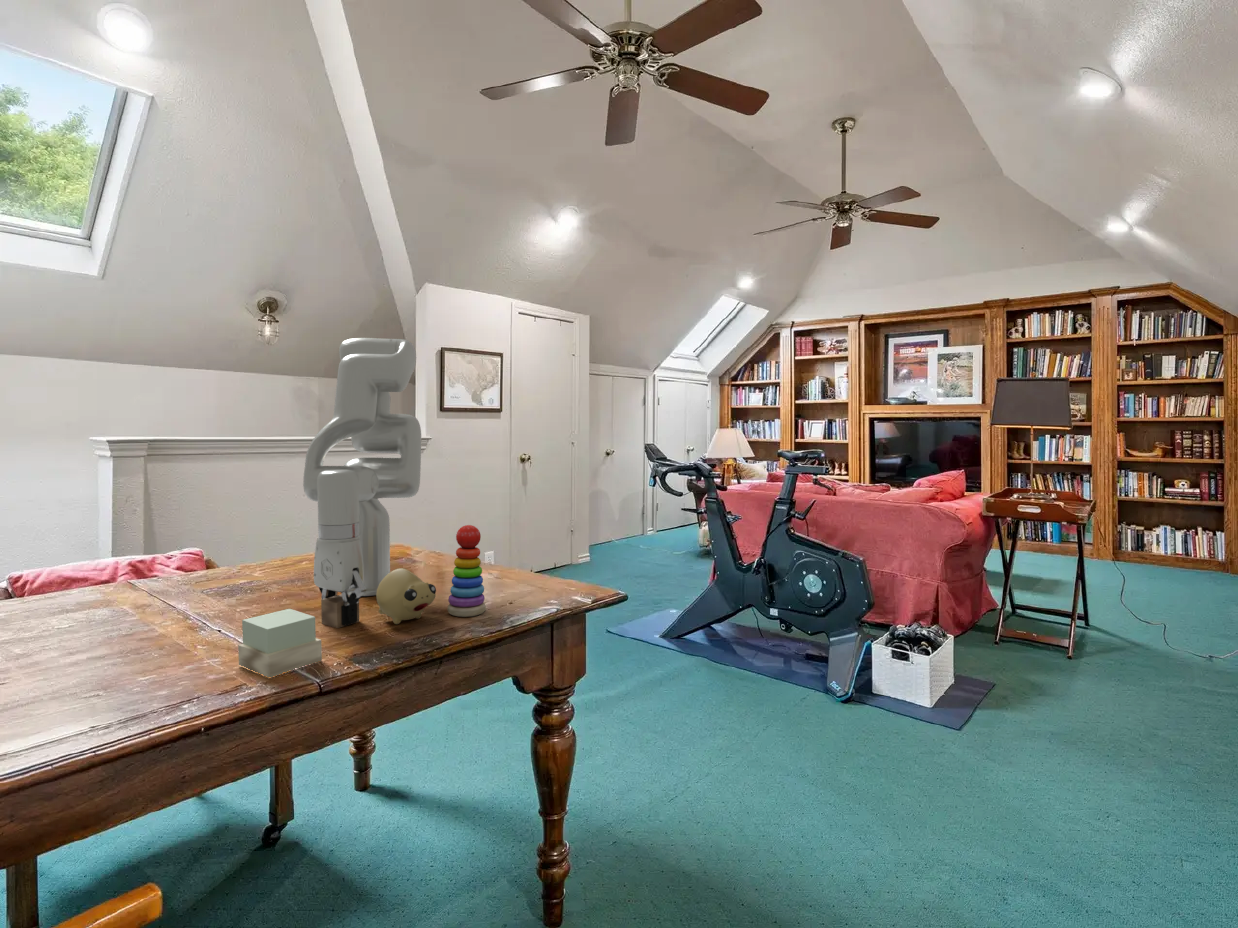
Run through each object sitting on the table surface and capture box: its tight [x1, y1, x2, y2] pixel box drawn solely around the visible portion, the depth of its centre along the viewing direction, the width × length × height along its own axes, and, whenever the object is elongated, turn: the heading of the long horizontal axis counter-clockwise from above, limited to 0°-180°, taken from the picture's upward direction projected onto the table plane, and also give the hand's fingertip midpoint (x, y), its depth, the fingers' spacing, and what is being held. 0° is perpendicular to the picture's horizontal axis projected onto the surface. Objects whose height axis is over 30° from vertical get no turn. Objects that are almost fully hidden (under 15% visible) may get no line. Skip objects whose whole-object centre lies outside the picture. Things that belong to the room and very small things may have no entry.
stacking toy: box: [447, 524, 487, 618], centre depth 138 cm, size 8×8×19 cm
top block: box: [241, 608, 317, 654], centre depth 109 cm, size 8×8×4 cm
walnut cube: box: [320, 593, 360, 629], centre depth 131 cm, size 5×5×5 cm
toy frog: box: [375, 567, 437, 625], centre depth 132 cm, size 10×12×11 cm
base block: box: [237, 637, 323, 677], centre depth 109 cm, size 9×9×4 cm
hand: (340, 620), depth 131 cm, fingers closed on walnut cube, 5 cm apart
